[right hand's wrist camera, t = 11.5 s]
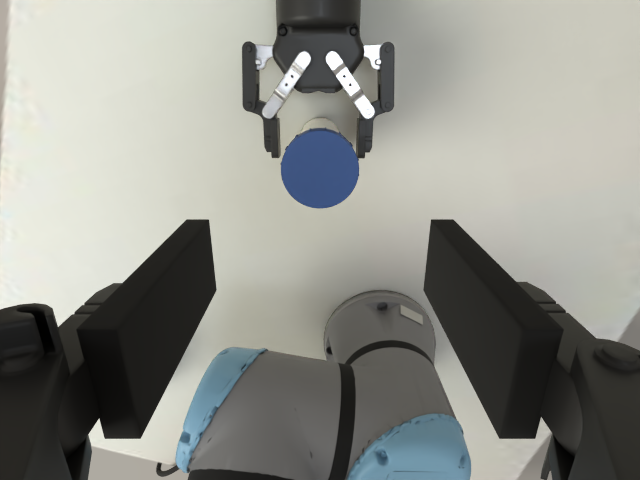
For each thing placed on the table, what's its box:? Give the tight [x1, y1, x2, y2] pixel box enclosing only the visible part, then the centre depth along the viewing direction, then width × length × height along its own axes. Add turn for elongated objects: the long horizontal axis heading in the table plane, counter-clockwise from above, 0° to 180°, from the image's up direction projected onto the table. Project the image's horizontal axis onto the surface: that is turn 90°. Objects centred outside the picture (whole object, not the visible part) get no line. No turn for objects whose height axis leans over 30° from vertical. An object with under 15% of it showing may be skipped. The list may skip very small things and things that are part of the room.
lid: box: [281, 127, 359, 208], centre depth 29 cm, size 6×6×2 cm
